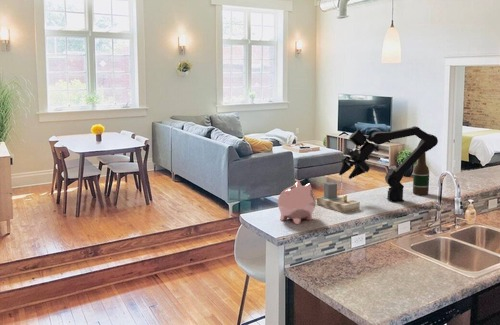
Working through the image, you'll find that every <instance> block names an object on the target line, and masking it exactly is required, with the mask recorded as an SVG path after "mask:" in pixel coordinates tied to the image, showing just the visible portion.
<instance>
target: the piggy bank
mask: <svg viewBox="0 0 500 325" xmlns="http://www.w3.org/2000/svg"><path fill="white" fill-rule="evenodd" d="M312 189H313V188H312V185H311V183H307V184H305V185H302V183H301V182H300V181H296V182H295V183H294V184H293V185H291V186H288V187H287V188H284V190H282V192H281V193H280V194H279V196H278V199H277V208H278V210H279V212H280V218H279V221H287V220H288V219H290V220H292V221H293V224H295V225H300V224H301V223H302V220H303V219H305V220H307V221H312V220H313V213H314V211H315V208H316V205H317V199H316V197H315V195H314V191H313V190H312Z"/></svg>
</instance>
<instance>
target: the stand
mask: <svg viewBox="0 0 500 325" xmlns="http://www.w3.org/2000/svg"><path fill="white" fill-rule="evenodd" d="M343 200H344V196H343V197H342V196H340V195H337V198H332V199H328V198H326V197H324V195H322V196H317V197H316V205H318V206H321V207H324V208H327V209H329V210H330V209H331V210H332V211H333V210H334V211H336V210H337V212H340V213H343V214H345V213H349V212H355V211H358V209H359V210H360V209H361V208H360V207H361V206H360V204H361V203H360V201H357V200H353V199H349V198H347V202H343Z"/></svg>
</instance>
